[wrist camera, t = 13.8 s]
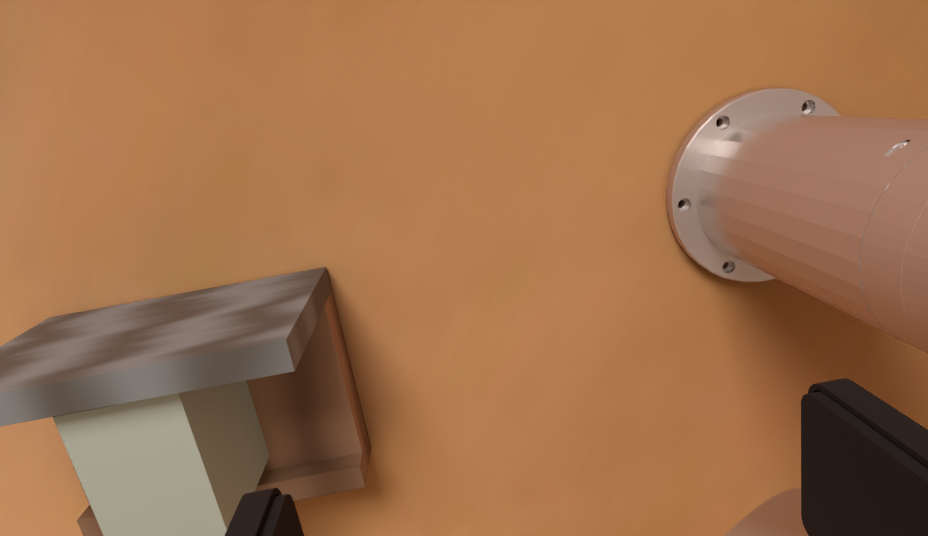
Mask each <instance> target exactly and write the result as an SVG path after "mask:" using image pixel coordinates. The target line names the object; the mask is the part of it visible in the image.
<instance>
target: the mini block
mask: <svg viewBox="0 0 928 536" xmlns="http://www.w3.org/2000/svg"><path fill="white" fill-rule="evenodd" d="M53 419H54V421H55V424H56V426H57V428H58V431H59V433H60V435H61V438H62V440H63V442H64V445H65V447H66V449H67V452H68V454H69V456H70V459H71V461H72V463H73V466H74V468H75V470H76V473H77V475H78V477H79V480H80V482H81V484H82V487H83V489H84V491H85V494H86V496H87V498H88V501H89V503H90V505H91V508H92V510H93V512H94V515H95V517H96V519H97V522H98V524H99V526H100V529H101V531H102V533H103V536H225V533H226V531H227V529H228V527H229V524H230V522H231V520H232V518H233V515H234V513H235V511H236V509H237V506H238V504H239V502H240V500H241V498H242V496H243V495H244V494H246V493H251V492H255V490H256V487H257V485H258V482H259V480H260V478H261V475H262V473H263V470H264V468H265V466H266V463H267V461H268V458H269V456H270V455H269V452H268V449H267V445H266V442H265V439H264V436H263V433H262V430H261V426H260V423H259V420H258V417H257V414H256V410H255V407H254V404H253V401H252V398H251V394H250V391H249V388H248V385H247V382H246V380H245V381H240V382H235V383H229V384H224V385H219V386H213V387H208V388H203V389H197V390H192V391H187V392H181V393H176V394H171V395H165V396H160V397H155V398H149V399H144V400H139V401H133V402H128V403H123V404H117V405H112V406H107V407H101V408H96V409H91V410H85V411H80V412H75V413H69V414H64V415H59V416H54V417H53Z"/></svg>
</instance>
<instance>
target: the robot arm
mask: <svg viewBox="0 0 928 536" xmlns="http://www.w3.org/2000/svg"><path fill="white" fill-rule="evenodd" d="M802 105H803V108H802ZM717 119H719V124H718V125H716V122H717ZM680 200H682V204H681V205H680V206H678V203H679V202H680ZM667 211H668V215H669V220H670V225H671V228H672V230H673V232H674V234H675V237H676V239H677V241H678V243H679V244H680V245H681V247H682V248H683V249H684V251H685V252H686V254H687V255H688V256H689V257H691V258H692V259H693V260H694V261H695V262H696V263H697V264H699V265H700V266H702V267H703V268H705V269H707V270H708V271H710V272H711V273H714V274H716V275H718V276H720V277H722V278H725V279H730V280H735V281H740V282H763V281H768V280H774V279H779V280H781V281H783V282H785V283H787V284H789V285H791V286H793V287H795V288H797V289H799V290H801V291H803V292H805V293H807V294H809V295H811V296H813V297H815V298H817V299H819V300H821V301H823V302H825V303H827V304H829V305H831V306H833V307H835V308H837V309H839V310H841V311H843V312H845V313H847V314H849V315H851V316H853V317H855V318H857V319H859V320H861V321H863V322H865V323H867V324H869V325H871V326H873V327H875V328H877V329H879V330H881V331H883V332H885V333H887V334H889V335H891V336H893V337H895V338H897V339H900V340H902V341H904V342H906V343H908V344H910V345H912V346H914V347H916V348H918V349H920V350H922V351H924V352H926V353H928V120H925V119H899V118H873V117H846V116H841V115H840V114H839V113H838V111H837V110H836V109H835V108H834V107H833V106H832V105H830V104H828V103H827V102H825V101H824V100H822V99H821V98H819V97H818V96H815V95H812V94H810V93H807V92H804V91H802V90H794V89H787V88H768V89H761V90H756V91H750V92H746V93H744V94H741V95H739V96H736V97H733V98H731V99H729V100H727V101H726V102H724V103H722V104H721V105H719V106H718V107H716V108H714V109H713V110H712V111H711V112H709V113H708V114H707V115H706V116H705V117H704V118H703V119H701V120H700V121H699V122H698V123H697V125H696V126H695V127H694V128H693V129H692V131H691V132H690V133H689V134H688V136H687V137H686V138H685V140H684V142H683V144H682V145H681V147H680V149H679V151H678V153H677V154H676V157H675V160H674V163H673V165H672V168H671V171H670V175H669V181H668V187H667ZM724 263H725V265H724ZM723 265H724V266H723ZM801 489H802V490H801V491H802V493H801V507H802V508H801V513H802V514H801V515H802V521H803V525H804V527H805V529H806V531H807V533H808V535H809V536H928V430H927V429H925V428H924V427H922V426H921V425H919V424H918V423H916V422H915V421H913V420H912V419H910V418H908V417H907V416H905V415H904V414H902V413H901V412H899V411H898V410H896V409H895V408H893V407H891V406H890V405H888V404H887V403H885V402H884V401H882V400H881V399H879V398H878V397H876V396H874V395H873V394H871V393H870V392H868V391H867V390H865V389H864V388H862V387H861V386H859V385H857V384H856V383H854V382H853V381H851V380H849V379H838V380H833V381H827V382H822V383H817V384H813V385H812V386H810V388H809V390H808V394H805V395H804V396H803V397H802V401H801ZM225 536H304V534H303V531H302V528H301V524H300V521H299V518H298V514H297V511H296V508H295V504H294V501H293V498H292V496H291V495H290V494H285V495H282V493H281V491H280V490H279V489H278V488H271V489H266V490H261V491H256V492H251V493H246V494H244V495H243V496H242V498H241V500H240V502H239V504H238V506H237V509H236V511H235V513H234V515H233V518H232V520H231V522H230V524H229V527H228V529H227V531H226V533H225Z"/></svg>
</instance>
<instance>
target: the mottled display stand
mask: <svg viewBox="0 0 928 536" xmlns="http://www.w3.org/2000/svg"><path fill="white" fill-rule="evenodd" d="M245 380H246V382H247V385H248V388H249V391H250V394H251V398H252V401H253V404H254V407H255V410H256V414H257V417H258V420H259V423H260V426H261V430H262V433H263V436H264V439H265V442H266V445H267V449H268V452H269V455H270V456H269V458H268V461H267V463H266V466H265V468H264V470H263V473H262V475H261V478H260V480H259V482H258V485H257V487H256V490H255V492H256V491H261V490H266V489H271V488H278V489H279V490H280V491H281V493H282V495H285V494H290V495H291V496H292V498H293V501H297V500H302V499H307V498H313V497H318V496H323V495H328V494H333V493H338V492H344V491H349V490H354V489H359V488H364V487H365V486H366V479H367V472H368V465H369V457H370V450H371V446H370V442H369V438H368V434H367V430H366V426H365V422H364V418H363V414H362V410H361V406H360V402H359V398H358V394H357V390H356V386H355V381H354V377H353V373H352V369H351V365H350V361H349V357H348V353H347V349H346V345H345V341H344V337H343V333H342V329H341V325H340V321H339V317H338V313H337V309H336V305H335V301H334V297H333V293H332V289H331V285H330V281H329V277H328V273H327V269H326V267H324V268H318V269H313V270H307V271H302V272H296V273H291V274H286V275H280V276H275V277H269V278H264V279H258V280H253V281H247V282H242V283H236V284H231V285H226V286H220V287H215V288H209V289H204V290H198V291H193V292H187V293H182V294H176V295H171V296H166V297H160V298H155V299H149V300H144V301H138V302H133V303H127V304H122V305H116V306H111V307H106V308H100V309H95V310H89V311H84V312H78V313H73V314H67V315H62V316H56V317H51V318H48V319H46V320H45V321H43V322H41V323H40V324H38V325H36V326H34V327H33V328H31V329H29V330H28V331H26V332H24V333H23V334H21V335H19V336H18V337H16V338H14V339H12V340H11V341H9V342H7V343H6V344H4V345H2V346H1V347H0V426H5V425H11V424H16V423H21V422H27V421H32V420H37V419H43V418H48V417H54V416H59V415H64V414H69V413H75V412H80V411H85V410H91V409H96V408H101V407H107V406H112V405H117V404H123V403H128V402H133V401H139V400H144V399H149V398H155V397H160V396H165V395H171V394H176V393H181V392H187V391H192V390H197V389H203V388H208V387H213V386H219V385H224V384H229V383H235V382H240V381H245ZM69 457H70V456H69ZM72 464H73V463H72ZM75 471H76V470H75ZM77 476H78V475H77ZM78 478H79V477H78ZM80 483H81V482H80ZM81 485H82V484H81ZM83 490H84V489H83ZM84 492H85V491H84ZM86 497H87V496H86ZM87 499H88V498H87ZM88 502H89V501H88ZM89 504H90V503H89ZM77 522H78V524H79V527H80V529H81V531H82V533H83V536H103V533H102V531H101V529H100V526H99V524H98V522H97V519H96V517H95V515H94V512H93V510H92V508H91V505H89V506H88V508H87V509H86V510H85V511H84V513H83V514H82V515H81V516H80V517H79V519H78V520H77Z"/></svg>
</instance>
